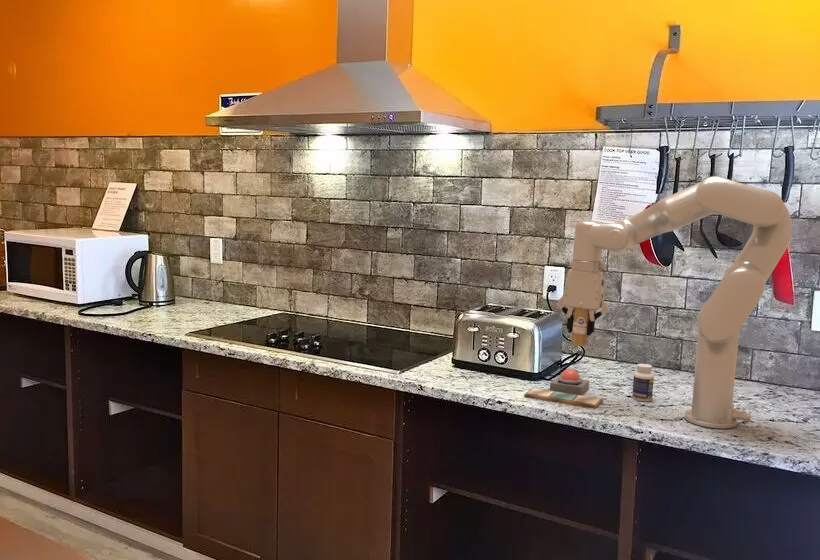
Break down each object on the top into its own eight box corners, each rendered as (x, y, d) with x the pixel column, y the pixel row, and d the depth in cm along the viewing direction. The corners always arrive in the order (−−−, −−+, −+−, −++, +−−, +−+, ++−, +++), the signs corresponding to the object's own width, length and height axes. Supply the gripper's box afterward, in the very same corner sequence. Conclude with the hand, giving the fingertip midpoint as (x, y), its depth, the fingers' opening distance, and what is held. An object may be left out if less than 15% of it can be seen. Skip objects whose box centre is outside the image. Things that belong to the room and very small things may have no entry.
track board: (602, 401, 208) (603, 398, 208) (596, 408, 201) (596, 405, 201) (533, 390, 217) (533, 387, 217) (524, 397, 210) (524, 393, 210)
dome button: (584, 387, 219) (585, 368, 219) (578, 392, 213) (579, 373, 213) (561, 383, 223) (562, 365, 222) (554, 388, 217) (555, 369, 216)
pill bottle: (651, 403, 208) (653, 368, 207) (630, 400, 210) (633, 366, 209) (653, 398, 213) (655, 364, 212) (633, 395, 215) (635, 362, 214)
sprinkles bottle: (572, 346, 203) (576, 296, 201) (569, 342, 207) (573, 294, 206) (589, 347, 203) (594, 297, 201) (585, 343, 207) (590, 295, 206)
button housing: (588, 389, 220) (589, 380, 220) (580, 396, 212) (581, 387, 212) (558, 384, 224) (559, 375, 224) (549, 391, 216) (550, 382, 216)
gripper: (620, 269, 202) (614, 335, 204) (559, 262, 209) (553, 326, 212) (614, 271, 195) (608, 340, 198) (551, 264, 203) (545, 331, 205)
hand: (580, 332), depth 205 cm, fingers closed on sprinkles bottle, 4 cm apart
